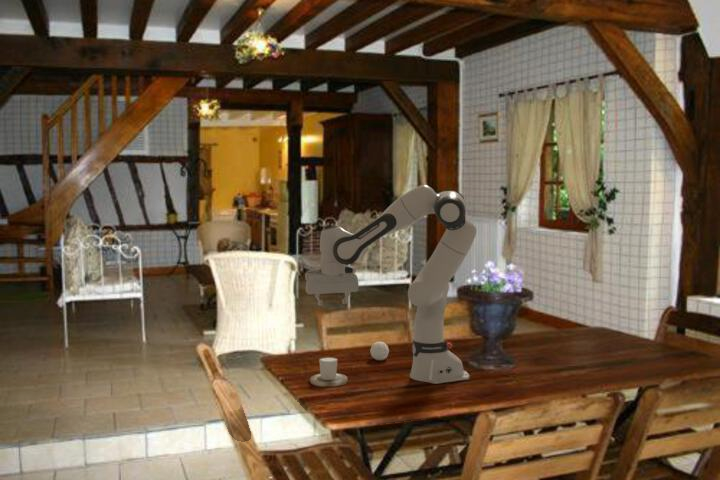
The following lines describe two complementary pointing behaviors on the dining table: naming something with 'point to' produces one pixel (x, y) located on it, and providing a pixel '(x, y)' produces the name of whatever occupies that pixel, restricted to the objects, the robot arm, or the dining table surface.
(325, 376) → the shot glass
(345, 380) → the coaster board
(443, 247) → the robot arm
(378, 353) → the geometric ball
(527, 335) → the dining table surface
